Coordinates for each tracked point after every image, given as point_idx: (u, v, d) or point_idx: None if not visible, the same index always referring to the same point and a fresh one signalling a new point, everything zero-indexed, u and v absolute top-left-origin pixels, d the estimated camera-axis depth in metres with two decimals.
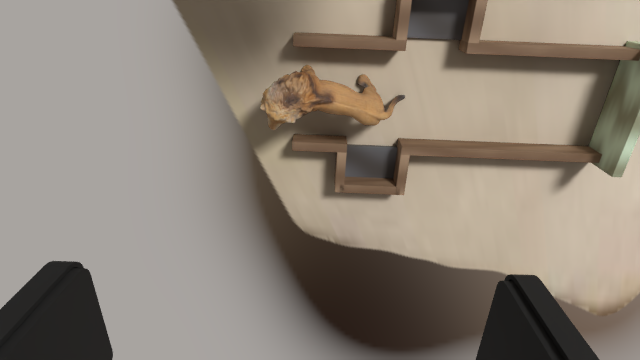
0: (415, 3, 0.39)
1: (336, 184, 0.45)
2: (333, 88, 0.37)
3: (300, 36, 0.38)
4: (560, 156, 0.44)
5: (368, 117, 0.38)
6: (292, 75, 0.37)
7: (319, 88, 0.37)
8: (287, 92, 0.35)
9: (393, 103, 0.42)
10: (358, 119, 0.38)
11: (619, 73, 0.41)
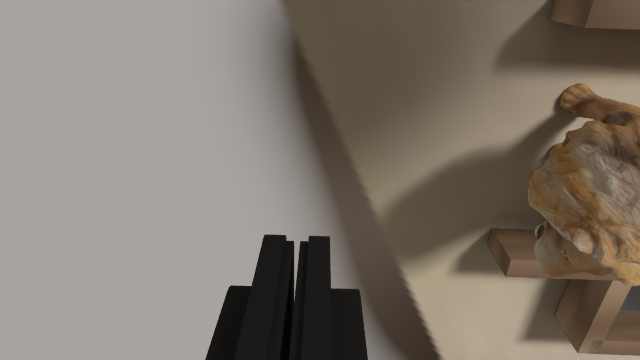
0: None
1: (586, 339, 0.20)
2: None
3: None
4: None
5: None
6: None
7: None
8: None
9: None
10: None
11: None
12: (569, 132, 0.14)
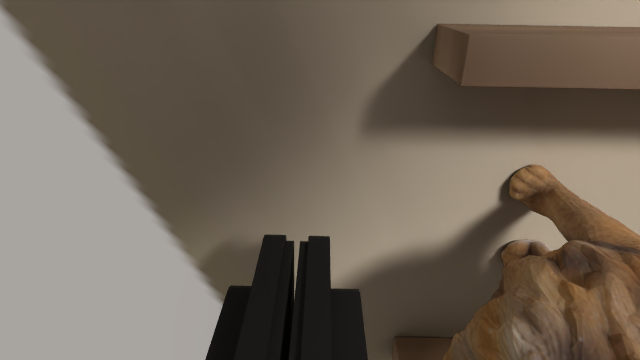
0: None
1: None
2: None
3: (504, 39, 0.08)
4: None
5: None
6: (623, 302, 0.07)
7: None
8: None
9: None
10: None
11: None
12: (506, 271, 0.09)
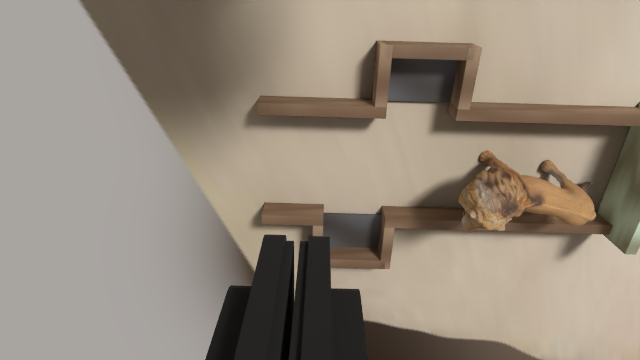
0: (396, 64, 0.34)
1: None
2: (542, 188, 0.33)
3: (264, 104, 0.33)
4: (565, 228, 0.38)
5: (581, 220, 0.33)
6: (499, 175, 0.33)
7: (530, 189, 0.33)
8: (505, 199, 0.31)
9: None
10: (566, 221, 0.34)
11: (631, 136, 0.36)
12: (476, 174, 0.35)
